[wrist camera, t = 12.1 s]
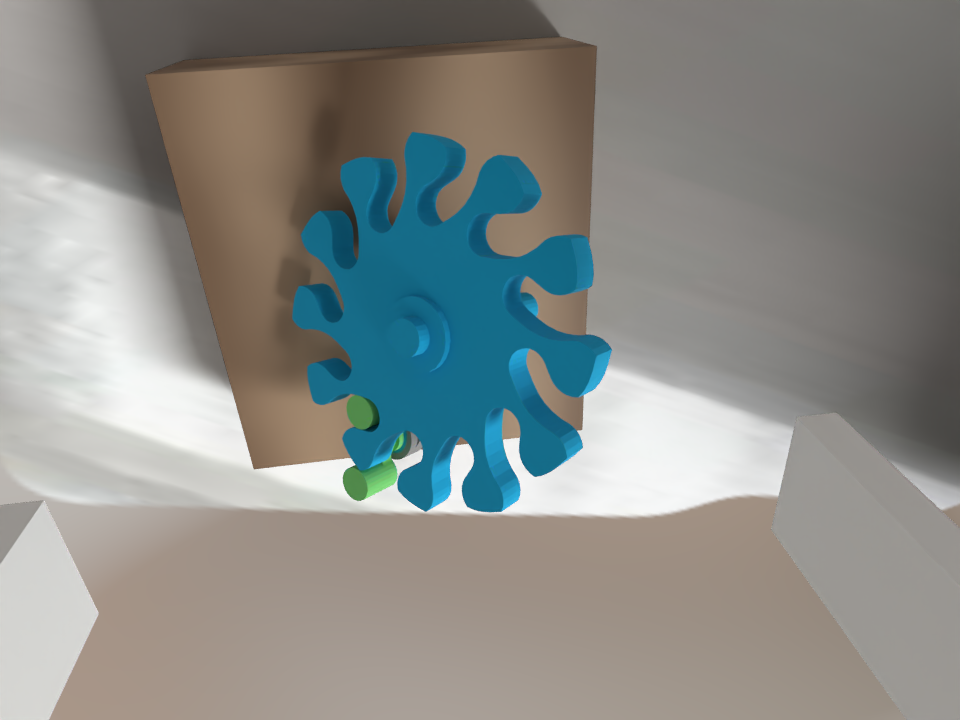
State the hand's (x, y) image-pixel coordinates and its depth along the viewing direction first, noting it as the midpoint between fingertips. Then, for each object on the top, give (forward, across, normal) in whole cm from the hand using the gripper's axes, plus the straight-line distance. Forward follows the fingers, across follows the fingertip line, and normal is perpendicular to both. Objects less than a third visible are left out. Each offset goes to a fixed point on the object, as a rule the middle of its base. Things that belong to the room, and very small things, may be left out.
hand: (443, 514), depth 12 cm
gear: (+11, 0, 0) cm, 11 cm away
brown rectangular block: (+14, +1, 0) cm, 14 cm away
